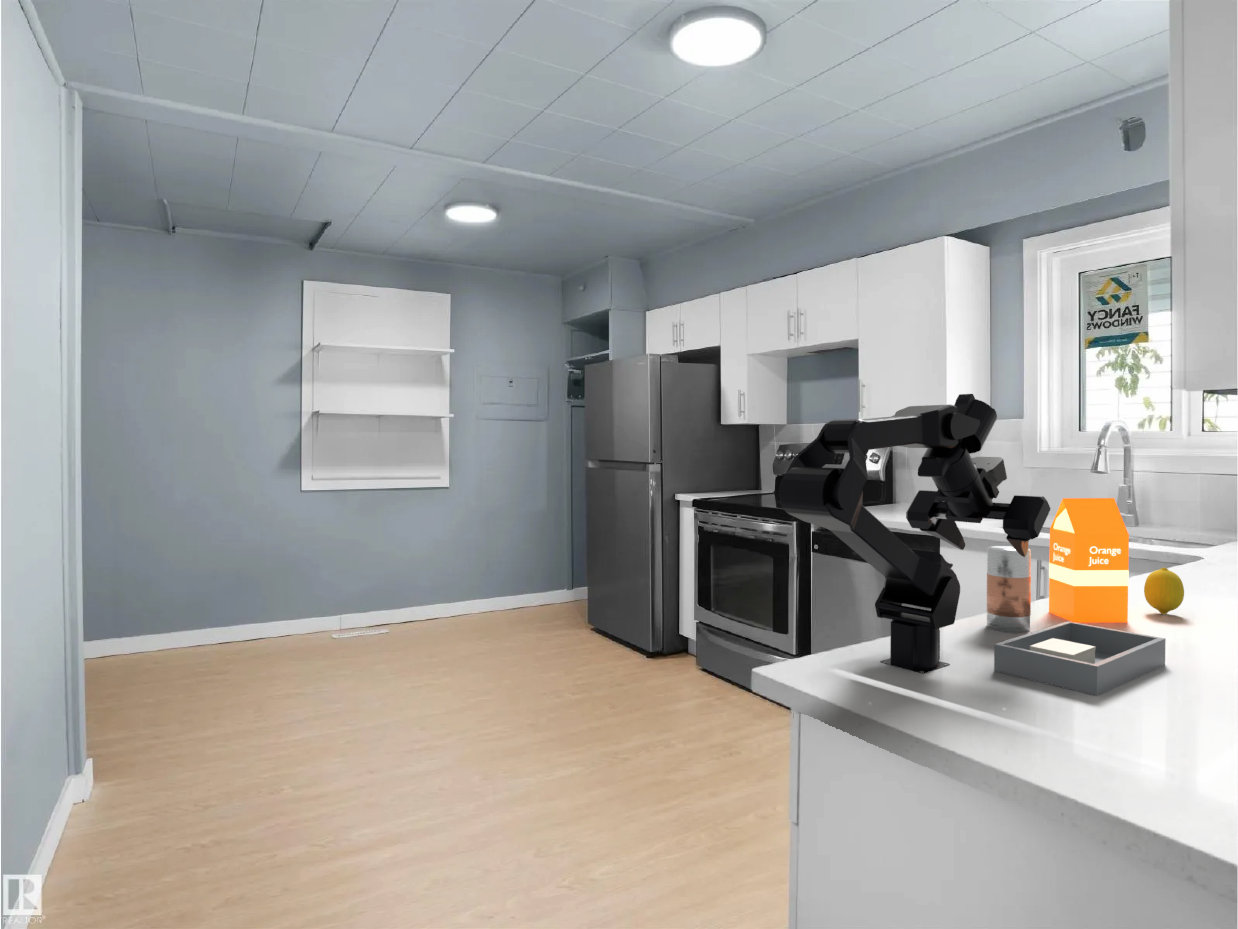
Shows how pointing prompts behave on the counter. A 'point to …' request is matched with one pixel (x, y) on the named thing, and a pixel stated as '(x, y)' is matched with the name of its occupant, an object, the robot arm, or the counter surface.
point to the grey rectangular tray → (1113, 666)
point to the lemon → (1164, 590)
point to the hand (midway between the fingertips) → (993, 550)
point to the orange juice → (1089, 561)
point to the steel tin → (1008, 590)
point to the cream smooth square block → (1066, 650)
